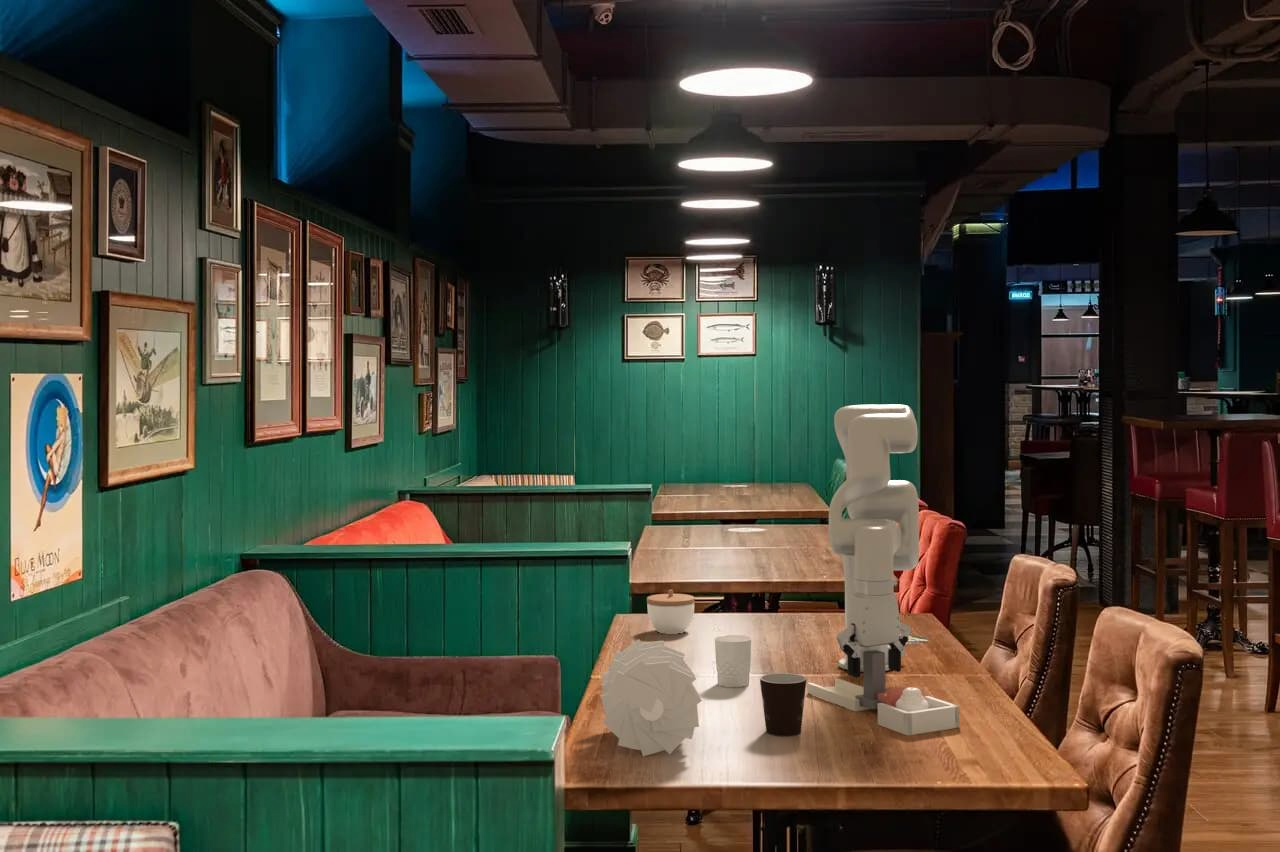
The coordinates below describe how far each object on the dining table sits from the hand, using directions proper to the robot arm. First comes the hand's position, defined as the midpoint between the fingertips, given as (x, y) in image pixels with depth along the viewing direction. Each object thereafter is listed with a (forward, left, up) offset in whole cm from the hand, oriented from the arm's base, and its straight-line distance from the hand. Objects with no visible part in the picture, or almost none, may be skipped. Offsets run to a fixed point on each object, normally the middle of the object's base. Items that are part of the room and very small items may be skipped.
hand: (874, 673), depth 255 cm
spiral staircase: (+50, 0, -7) cm, 50 cm away
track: (0, -9, -7) cm, 11 cm away
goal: (0, +14, -7) cm, 16 cm away
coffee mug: (+23, +5, -7) cm, 25 cm away
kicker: (0, +3, -6) cm, 7 cm away
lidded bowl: (-3, -92, -7) cm, 93 cm away
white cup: (+13, -32, -7) cm, 36 cm away
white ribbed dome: (0, +12, -7) cm, 14 cm away
